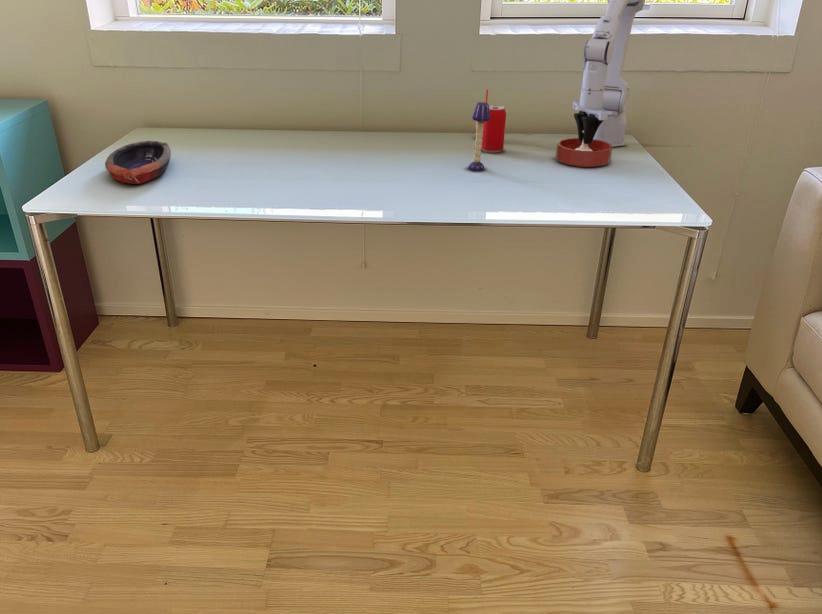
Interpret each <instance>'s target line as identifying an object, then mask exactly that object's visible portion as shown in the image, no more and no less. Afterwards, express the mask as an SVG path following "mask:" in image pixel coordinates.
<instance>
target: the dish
mask: <svg viewBox="0 0 822 614" xmlns="http://www.w3.org/2000/svg"><path fill="white" fill-rule="evenodd" d="M171 156H172V151H171V148H170V146H169V144H168V142H166V141H164V142H162V141H158V140H144V141H143V140H142V141H138V142H132V143H129V144H126V145H124V146H121V147H119V148H117V149H115V150H114V151H112V152H111V153H110V154H109V155H108V156H107V158H106V159H105V162H104V166H105V167H104V168H105V169H106V171H107V172H108V173H109V175H110V177H112V179H114V180H115V181H118V182H121V183H122V184H123V183H124V184H132V185H133V184H134V185H139V184H140V185H141V184H144V183H146V182H149V181H151V180H154V179H157V178H158V177H159V176H161V175H162V174H163V173H164V172H165V171H166V170H167V169H168V166H169V163H170V160H171Z"/></svg>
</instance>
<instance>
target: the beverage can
mask: <svg viewBox="0 0 822 614" xmlns="http://www.w3.org/2000/svg"><path fill="white" fill-rule="evenodd" d="M488 105H489V104H488ZM505 108H506V107H505V106H504V105H499V104H498V105H497V104H491V105H489V111H490V120H489V121H484V125H483V132H482V133H483V137H482V144H481V145H482V149H481V151H483V152H484V153H488V154H497V153H500V152H501V151H503V150H504V146H505V132H506V120H507V111H506V109H505Z"/></svg>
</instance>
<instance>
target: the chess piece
mask: <svg viewBox="0 0 822 614" xmlns="http://www.w3.org/2000/svg"><path fill="white" fill-rule="evenodd" d="M588 116H589V115H588ZM583 133H584V130H583ZM575 150H580V151H593V150H591V149H589V147H588V144H584V142H583V141H582V145H581V146H580V148H576V149H575Z"/></svg>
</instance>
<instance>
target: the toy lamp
mask: <svg viewBox="0 0 822 614" xmlns="http://www.w3.org/2000/svg"><path fill="white" fill-rule="evenodd" d="M485 102H486V101H485ZM485 102H484V101H479V102H477V103H476V104H475V107H474V110H473V113H472V117H471V119H472V121H475V122H476V121H477V128H476V127H475V131H476V130H477V133H476V132H475V139H474V140H475V141H474V143H475V144H474V154H473V155H474V157H473V161H472V162H470V163H469V165H468V167H467V168H468V170H469V171H471V172H482V171H484V170H485V165H484V164H483V162H481V156H482V137H483V133H482V132H483V125H484V121H489V120H490V111H489V102H487V103H485Z"/></svg>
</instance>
